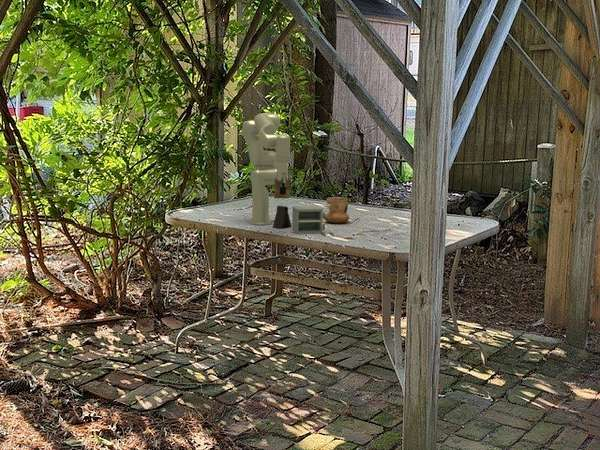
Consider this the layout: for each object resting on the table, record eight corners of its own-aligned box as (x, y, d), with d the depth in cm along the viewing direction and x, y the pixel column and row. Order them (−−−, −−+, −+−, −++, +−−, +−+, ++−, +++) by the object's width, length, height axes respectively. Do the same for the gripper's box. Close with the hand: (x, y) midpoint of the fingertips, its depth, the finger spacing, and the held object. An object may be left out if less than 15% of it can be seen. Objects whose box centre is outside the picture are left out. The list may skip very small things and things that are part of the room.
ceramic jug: (336, 225, 434) (336, 200, 431) (317, 222, 443) (318, 198, 441) (356, 222, 446) (357, 198, 444) (338, 219, 456) (338, 196, 454)
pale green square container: (292, 230, 417) (292, 206, 415) (324, 229, 420) (324, 205, 418) (300, 236, 395) (300, 212, 393) (333, 236, 399) (334, 211, 397)
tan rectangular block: (274, 197, 406) (274, 178, 404) (289, 197, 407) (289, 178, 406) (275, 198, 402) (275, 179, 400) (290, 198, 404) (290, 179, 402)
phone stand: (280, 229, 419) (280, 207, 417) (272, 227, 423) (272, 206, 422) (291, 227, 426) (292, 206, 424) (284, 226, 430) (284, 204, 428)
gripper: (273, 157, 409) (272, 191, 412) (278, 160, 393) (277, 196, 396) (287, 157, 410) (286, 191, 413) (292, 160, 394) (291, 196, 398)
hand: (282, 193), depth 405 cm, fingers closed on tan rectangular block, 3 cm apart
